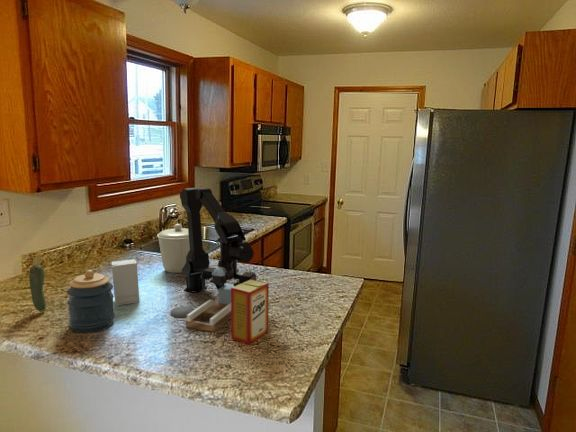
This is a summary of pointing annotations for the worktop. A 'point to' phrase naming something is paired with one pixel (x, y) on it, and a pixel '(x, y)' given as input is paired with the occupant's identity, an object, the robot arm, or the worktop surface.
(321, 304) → the worktop surface
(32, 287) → the vegetable
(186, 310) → the coaster
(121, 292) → the skincare box
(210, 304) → the channel walls
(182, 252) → the canister
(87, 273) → the canister
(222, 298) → the block
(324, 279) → the worktop surface
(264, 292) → the baking soda box
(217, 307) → the channel base plate
